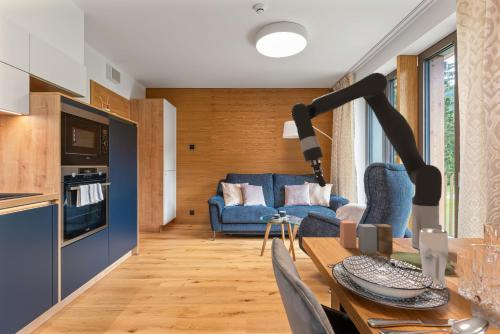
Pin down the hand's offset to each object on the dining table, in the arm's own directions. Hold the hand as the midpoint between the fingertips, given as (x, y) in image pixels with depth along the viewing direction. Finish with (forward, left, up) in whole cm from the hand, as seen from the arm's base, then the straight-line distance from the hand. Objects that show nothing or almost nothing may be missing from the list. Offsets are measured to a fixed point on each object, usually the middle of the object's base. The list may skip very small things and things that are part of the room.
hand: (322, 186), depth 114 cm
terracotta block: (-10, -1, -25) cm, 27 cm away
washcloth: (-26, +21, -25) cm, 42 cm away
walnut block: (-21, +6, -25) cm, 33 cm away
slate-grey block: (-15, +6, -25) cm, 30 cm away
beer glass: (-20, +37, -25) cm, 49 cm away
